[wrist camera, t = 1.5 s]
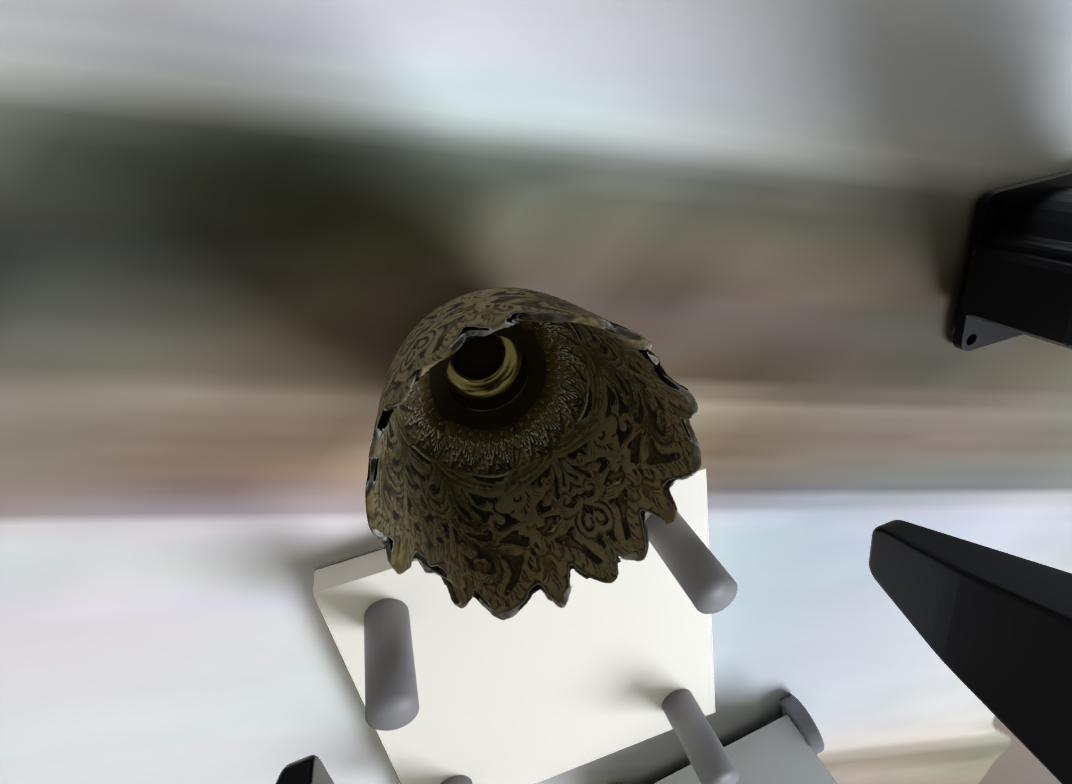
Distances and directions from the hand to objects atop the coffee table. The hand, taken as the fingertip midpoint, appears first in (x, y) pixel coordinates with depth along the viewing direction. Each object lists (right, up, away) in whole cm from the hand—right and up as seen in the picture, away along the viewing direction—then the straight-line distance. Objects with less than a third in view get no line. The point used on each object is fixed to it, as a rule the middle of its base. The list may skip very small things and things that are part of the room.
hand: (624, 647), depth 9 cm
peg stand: (-1, -7, +17) cm, 19 cm away
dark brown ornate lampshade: (-3, +5, +11) cm, 13 cm away
